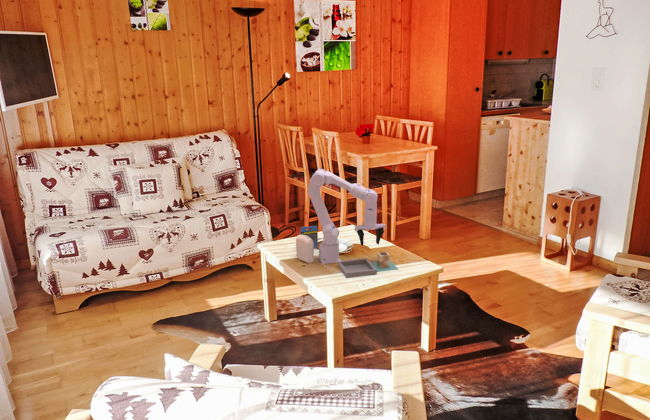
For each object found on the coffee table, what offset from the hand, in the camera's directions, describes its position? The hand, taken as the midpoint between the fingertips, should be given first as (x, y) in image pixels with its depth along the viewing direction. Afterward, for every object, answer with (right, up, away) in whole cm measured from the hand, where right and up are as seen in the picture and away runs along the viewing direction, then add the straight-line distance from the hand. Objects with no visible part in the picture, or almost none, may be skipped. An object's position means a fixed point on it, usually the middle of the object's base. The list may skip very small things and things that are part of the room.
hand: (369, 244), depth 240 cm
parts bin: (-6, -12, -7) cm, 15 cm away
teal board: (+6, -10, -3) cm, 12 cm away
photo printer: (-31, -8, +6) cm, 32 cm away
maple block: (+6, -10, -3) cm, 12 cm away
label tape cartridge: (-29, -4, +21) cm, 36 cm away
